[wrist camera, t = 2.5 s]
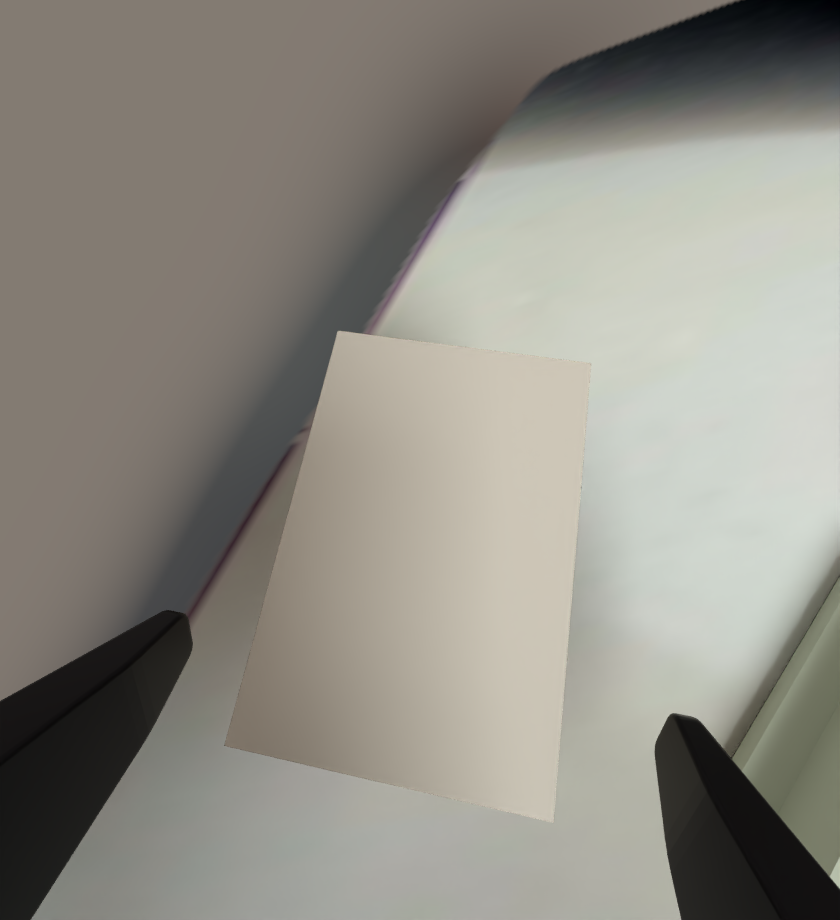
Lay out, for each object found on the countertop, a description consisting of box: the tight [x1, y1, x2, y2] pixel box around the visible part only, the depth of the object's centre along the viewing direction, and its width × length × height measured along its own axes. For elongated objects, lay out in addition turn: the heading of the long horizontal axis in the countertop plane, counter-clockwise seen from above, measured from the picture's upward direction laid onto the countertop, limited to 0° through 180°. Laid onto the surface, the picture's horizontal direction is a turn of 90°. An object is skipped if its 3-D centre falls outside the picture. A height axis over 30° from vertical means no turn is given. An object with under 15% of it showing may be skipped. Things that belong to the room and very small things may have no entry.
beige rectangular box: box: [224, 331, 591, 823], centre depth 13 cm, size 6×4×13 cm, turn 170°
